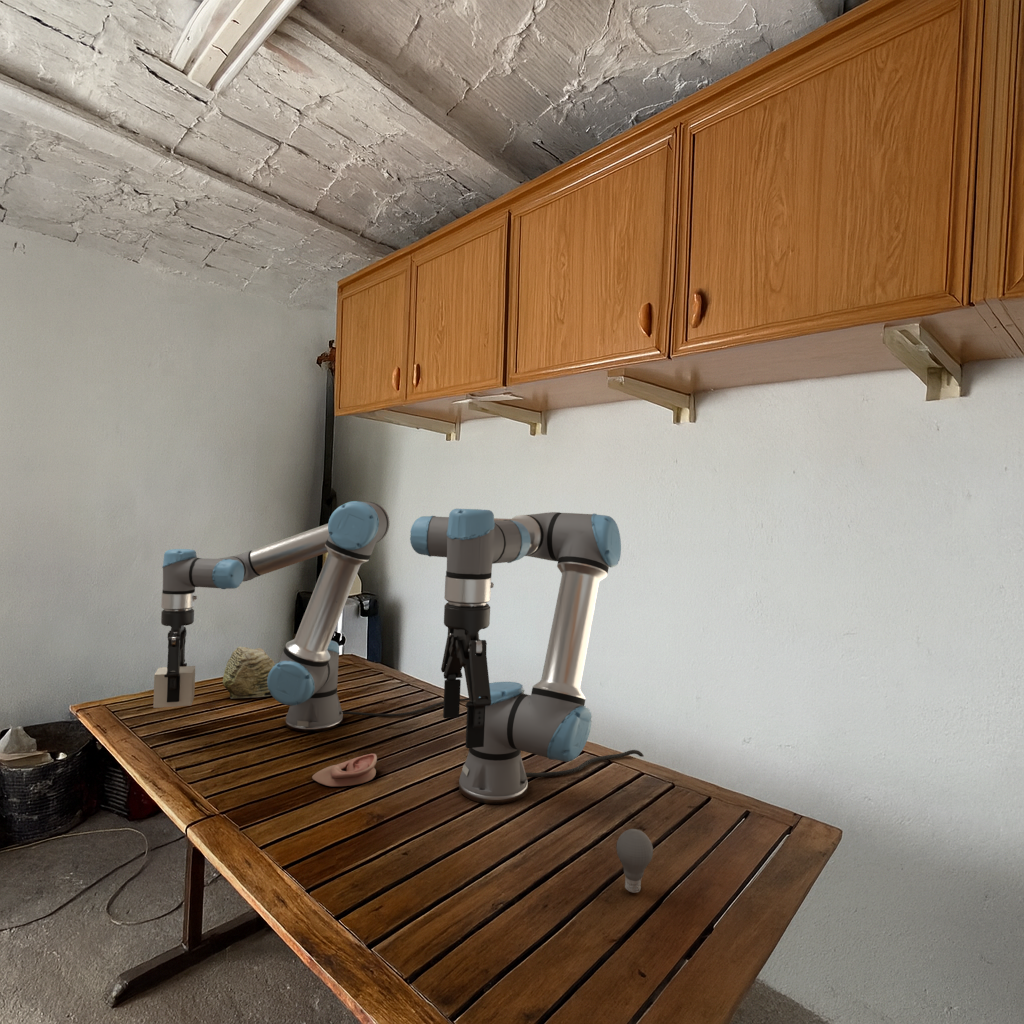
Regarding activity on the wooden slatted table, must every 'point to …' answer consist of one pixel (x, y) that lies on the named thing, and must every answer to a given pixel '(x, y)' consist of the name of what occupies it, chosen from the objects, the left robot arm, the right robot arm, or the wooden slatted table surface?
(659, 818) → the wooden slatted table surface
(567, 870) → the wooden slatted table surface
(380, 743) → the wooden slatted table surface
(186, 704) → the beige block
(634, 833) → the light bulb
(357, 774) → the anatomical model
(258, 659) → the fossil
